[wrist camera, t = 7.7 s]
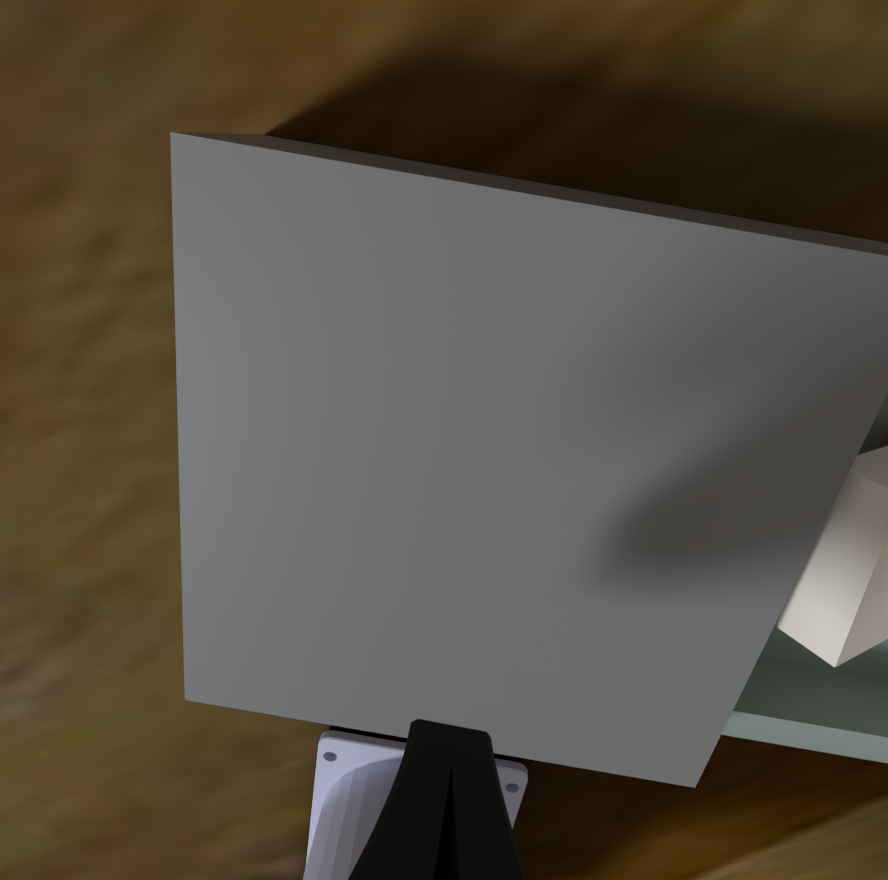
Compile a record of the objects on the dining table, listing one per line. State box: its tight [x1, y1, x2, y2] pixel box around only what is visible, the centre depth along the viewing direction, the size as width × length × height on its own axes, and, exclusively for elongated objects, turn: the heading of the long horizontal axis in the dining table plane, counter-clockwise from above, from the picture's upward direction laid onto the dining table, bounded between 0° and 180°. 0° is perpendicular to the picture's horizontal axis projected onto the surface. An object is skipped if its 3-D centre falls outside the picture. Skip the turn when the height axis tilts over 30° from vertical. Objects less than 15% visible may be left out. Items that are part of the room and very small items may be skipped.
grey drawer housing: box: [170, 132, 888, 788], centre depth 17 cm, size 14×14×5 cm
